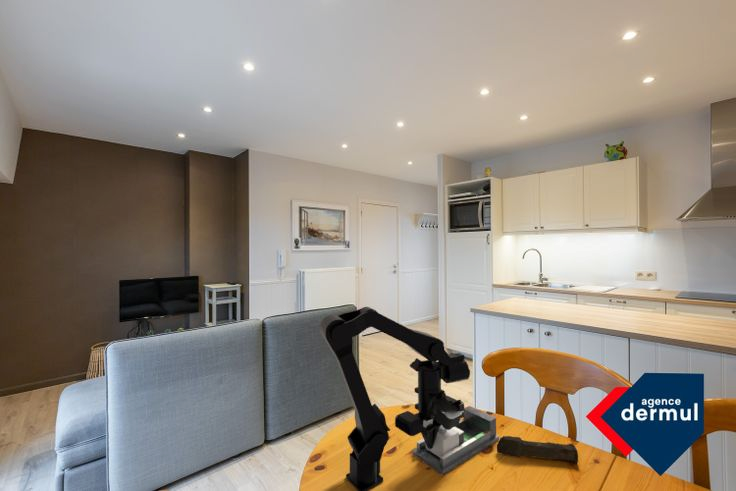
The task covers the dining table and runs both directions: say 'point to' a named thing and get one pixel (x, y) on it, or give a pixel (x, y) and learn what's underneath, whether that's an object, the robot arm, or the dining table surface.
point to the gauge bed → (476, 439)
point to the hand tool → (536, 449)
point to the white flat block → (460, 435)
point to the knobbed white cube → (445, 441)
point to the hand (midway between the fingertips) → (430, 448)
